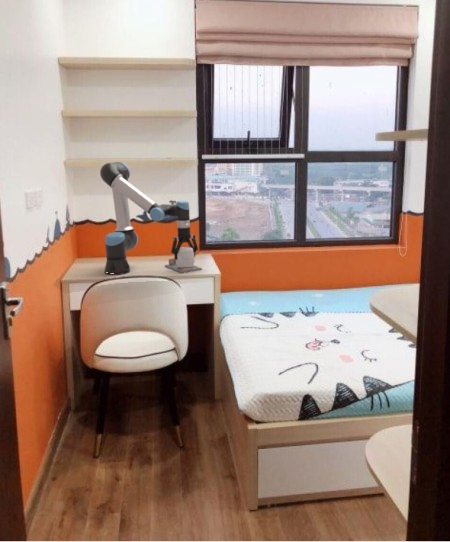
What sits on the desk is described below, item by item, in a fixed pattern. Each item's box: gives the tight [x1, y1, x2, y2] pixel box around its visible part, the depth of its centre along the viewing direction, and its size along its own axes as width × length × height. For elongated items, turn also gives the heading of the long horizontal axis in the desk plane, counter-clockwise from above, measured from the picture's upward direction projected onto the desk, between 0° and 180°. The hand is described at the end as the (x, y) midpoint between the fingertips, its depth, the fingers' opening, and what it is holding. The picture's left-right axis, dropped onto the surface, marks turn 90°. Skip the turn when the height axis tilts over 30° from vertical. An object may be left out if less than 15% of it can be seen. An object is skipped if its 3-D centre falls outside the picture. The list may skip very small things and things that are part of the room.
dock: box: [164, 257, 203, 274], centre depth 321 cm, size 14×22×4 cm, turn 32°
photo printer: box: [177, 246, 195, 268], centre depth 317 cm, size 10×4×12 cm, turn 98°
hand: (185, 263), depth 318 cm, fingers closed on photo printer, 10 cm apart
